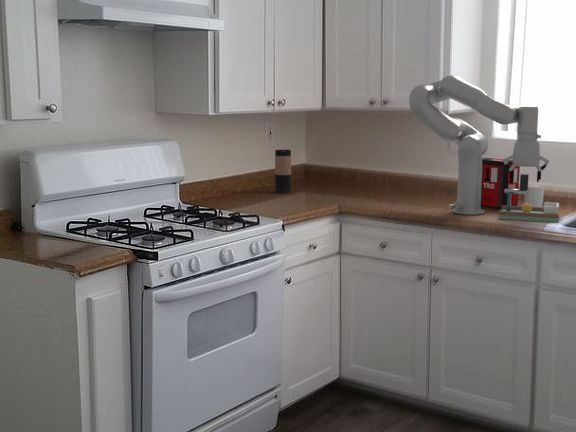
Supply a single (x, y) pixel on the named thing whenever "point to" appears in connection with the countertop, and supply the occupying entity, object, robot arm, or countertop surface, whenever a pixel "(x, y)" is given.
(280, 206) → the countertop surface
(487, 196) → the cleaning product box
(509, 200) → the kicker rod
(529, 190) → the white cup
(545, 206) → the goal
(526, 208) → the ball
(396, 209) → the countertop surface
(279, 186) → the travel mug
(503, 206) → the pitch
